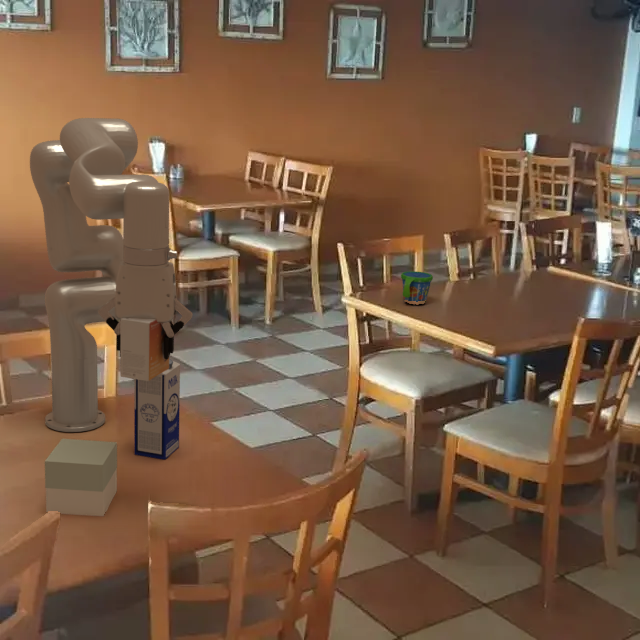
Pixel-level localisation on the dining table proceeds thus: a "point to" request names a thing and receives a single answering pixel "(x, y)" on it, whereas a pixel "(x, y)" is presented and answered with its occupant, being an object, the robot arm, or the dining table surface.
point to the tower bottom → (81, 500)
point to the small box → (142, 349)
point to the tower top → (81, 465)
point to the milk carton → (157, 414)
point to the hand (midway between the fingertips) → (145, 355)
